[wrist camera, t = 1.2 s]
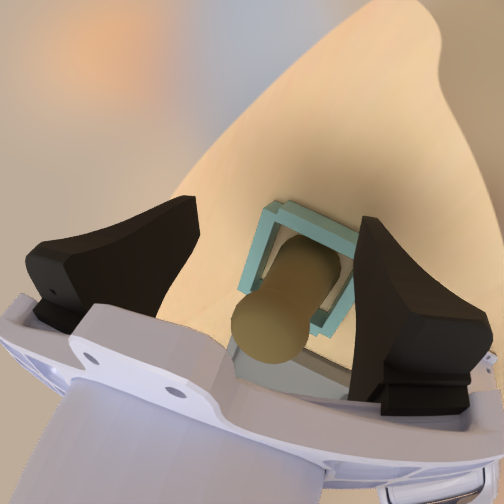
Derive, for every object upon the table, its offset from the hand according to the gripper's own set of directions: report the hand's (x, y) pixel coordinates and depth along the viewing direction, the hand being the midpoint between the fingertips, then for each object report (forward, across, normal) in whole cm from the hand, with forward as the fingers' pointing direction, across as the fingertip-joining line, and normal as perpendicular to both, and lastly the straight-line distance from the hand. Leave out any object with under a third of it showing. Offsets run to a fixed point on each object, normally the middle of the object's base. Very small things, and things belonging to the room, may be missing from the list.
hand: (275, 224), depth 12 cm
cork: (+11, -2, +10) cm, 15 cm away
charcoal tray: (+7, -1, +26) cm, 28 cm away
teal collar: (+10, -1, +10) cm, 15 cm away
